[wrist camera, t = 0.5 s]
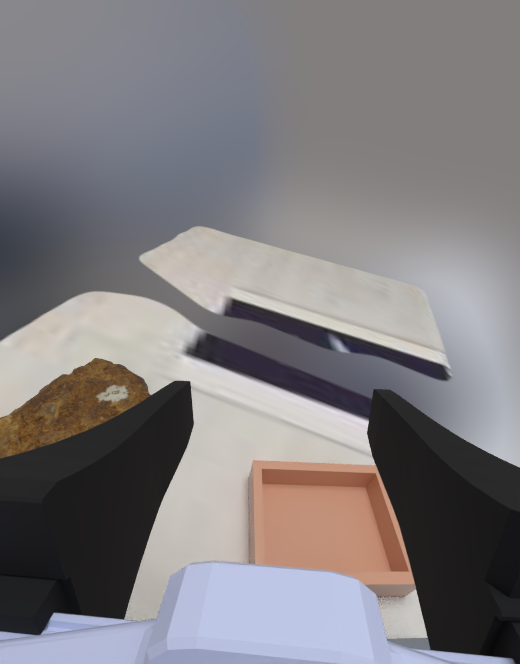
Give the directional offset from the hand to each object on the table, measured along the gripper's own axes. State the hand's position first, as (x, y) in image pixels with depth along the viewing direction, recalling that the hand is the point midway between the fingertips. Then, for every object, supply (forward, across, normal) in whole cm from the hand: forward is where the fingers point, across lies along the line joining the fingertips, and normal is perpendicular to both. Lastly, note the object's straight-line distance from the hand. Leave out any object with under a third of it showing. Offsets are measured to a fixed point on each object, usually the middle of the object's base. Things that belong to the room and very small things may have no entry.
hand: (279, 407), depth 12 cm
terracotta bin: (+8, -4, +17) cm, 19 cm away
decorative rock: (+12, +19, +12) cm, 26 cm away
